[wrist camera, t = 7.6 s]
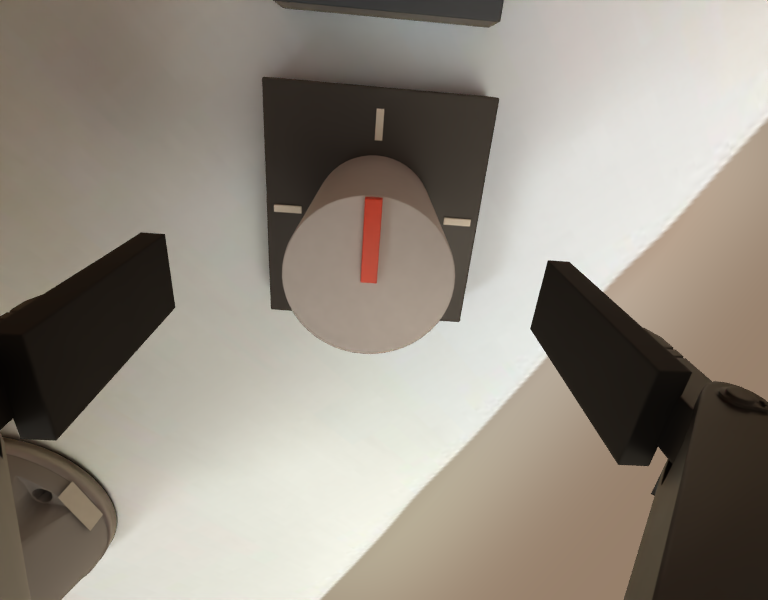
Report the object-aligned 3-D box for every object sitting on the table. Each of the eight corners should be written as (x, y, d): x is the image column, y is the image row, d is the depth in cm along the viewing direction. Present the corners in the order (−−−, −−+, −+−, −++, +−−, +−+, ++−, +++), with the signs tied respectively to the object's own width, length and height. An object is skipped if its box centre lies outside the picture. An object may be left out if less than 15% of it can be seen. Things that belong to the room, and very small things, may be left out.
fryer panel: (453, 303, 28) (460, 323, 26) (279, 291, 28) (270, 310, 25) (488, 96, 23) (500, 98, 20) (273, 77, 22) (260, 76, 20)
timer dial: (424, 272, 24) (444, 363, 16) (314, 265, 24) (282, 353, 16) (437, 159, 22) (469, 204, 14) (315, 150, 21) (276, 190, 14)
